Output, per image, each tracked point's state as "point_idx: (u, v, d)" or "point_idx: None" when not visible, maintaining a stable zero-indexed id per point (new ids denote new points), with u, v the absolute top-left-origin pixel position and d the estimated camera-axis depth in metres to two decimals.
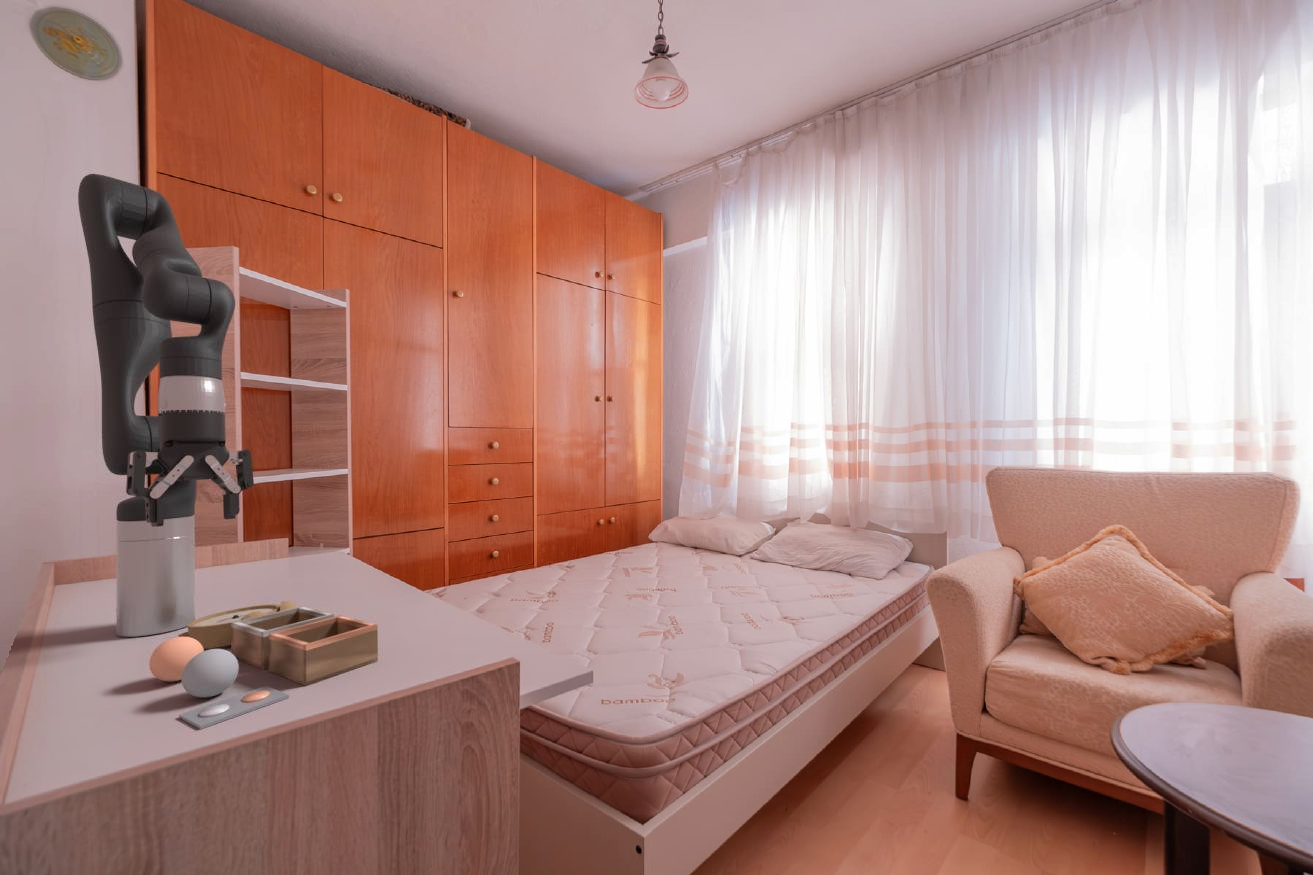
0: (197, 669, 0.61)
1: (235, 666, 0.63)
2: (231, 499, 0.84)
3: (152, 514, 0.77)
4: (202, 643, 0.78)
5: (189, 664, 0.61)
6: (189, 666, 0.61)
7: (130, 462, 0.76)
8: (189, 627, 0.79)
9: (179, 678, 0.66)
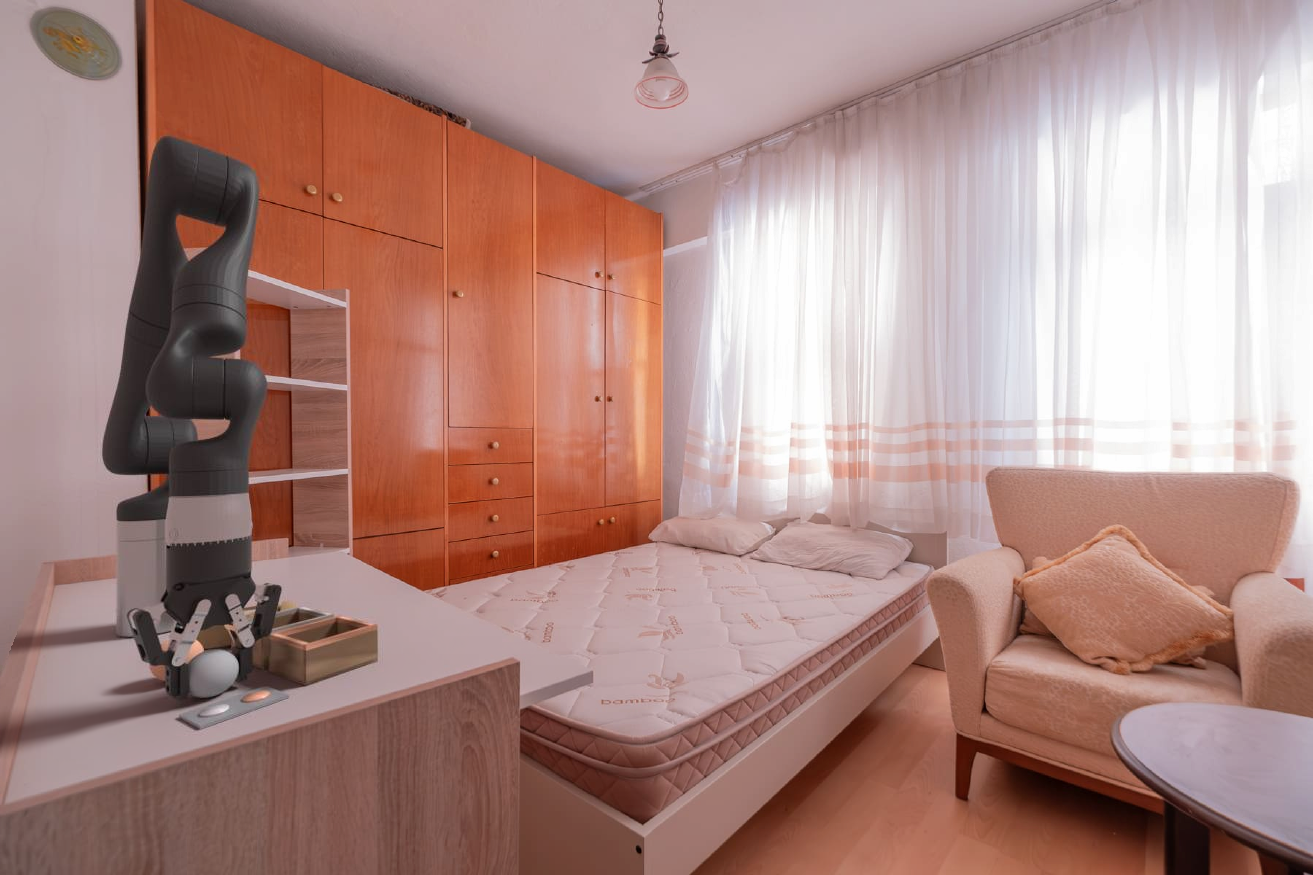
0: (197, 669, 0.61)
1: (235, 666, 0.63)
2: (242, 656, 0.64)
3: (174, 686, 0.59)
4: (202, 643, 0.78)
5: (189, 664, 0.61)
6: (189, 666, 0.61)
7: (133, 627, 0.57)
8: None
9: None
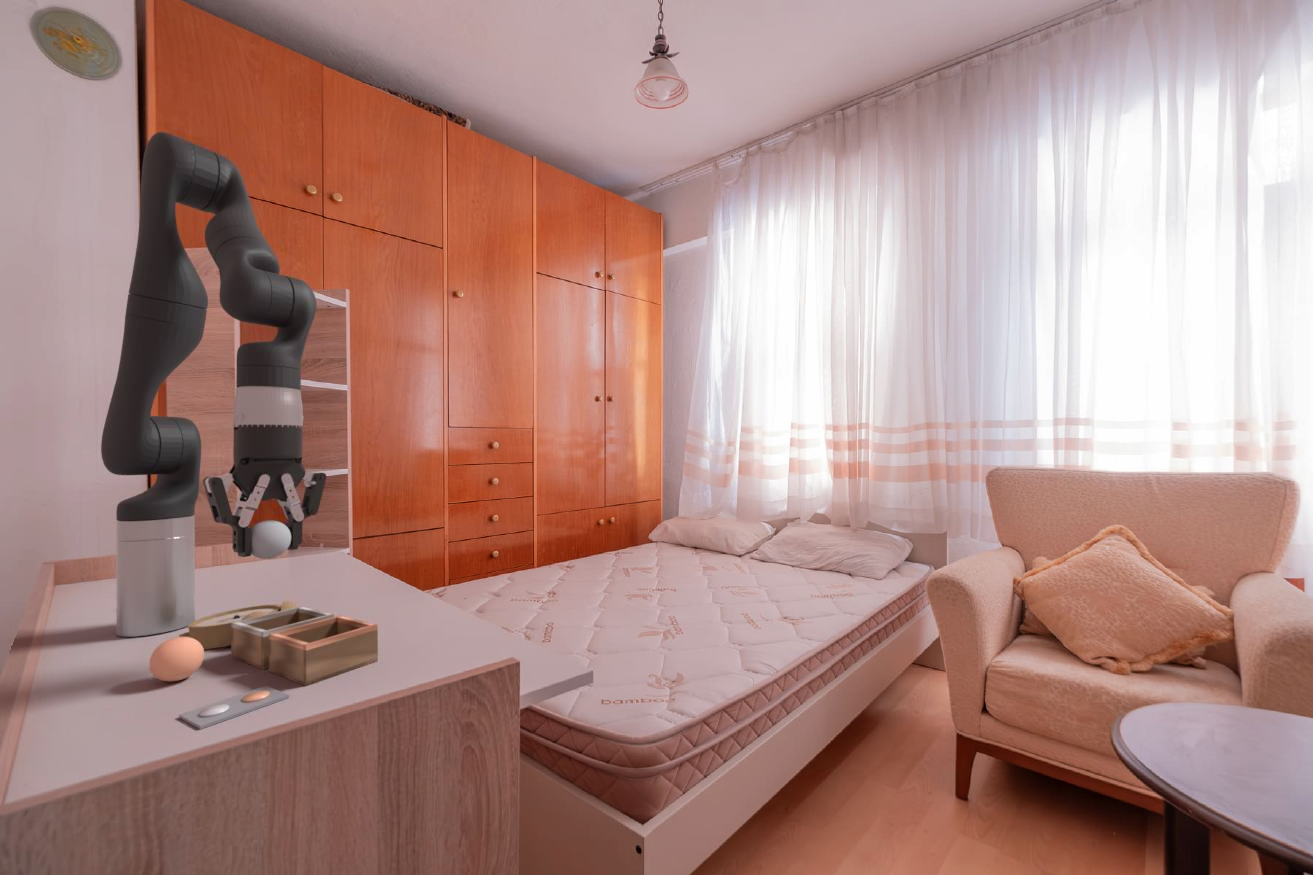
0: (258, 532, 0.72)
1: (289, 535, 0.75)
2: (294, 528, 0.76)
3: (240, 544, 0.71)
4: (203, 643, 0.78)
5: (252, 529, 0.73)
6: (252, 530, 0.72)
7: (208, 490, 0.69)
8: (190, 627, 0.79)
9: (179, 678, 0.66)
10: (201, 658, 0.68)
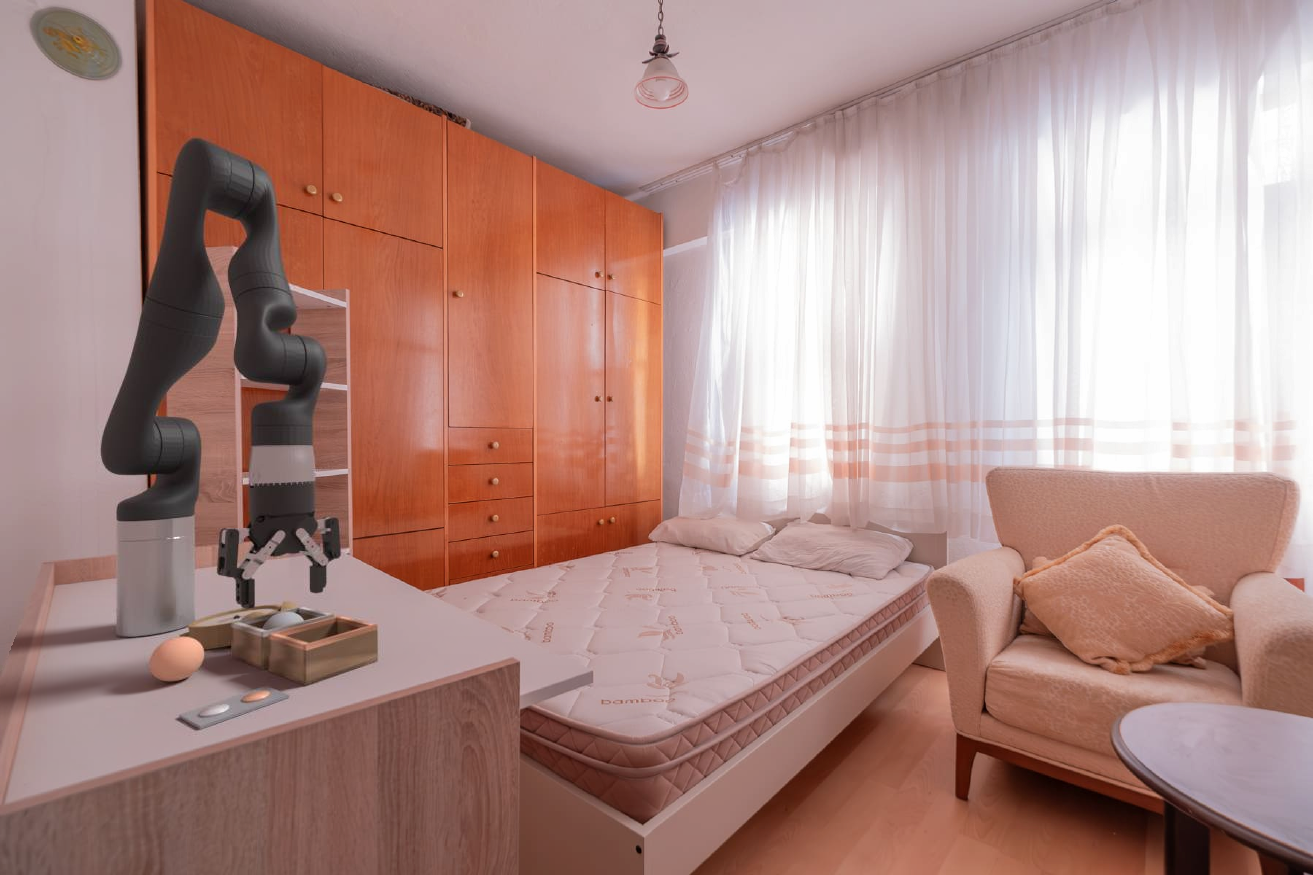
0: (275, 626, 0.74)
1: None
2: (319, 572, 0.79)
3: (243, 596, 0.72)
4: (203, 643, 0.78)
5: (268, 623, 0.74)
6: (268, 624, 0.74)
7: (223, 541, 0.70)
8: (190, 627, 0.79)
9: (179, 678, 0.66)
10: (201, 658, 0.68)
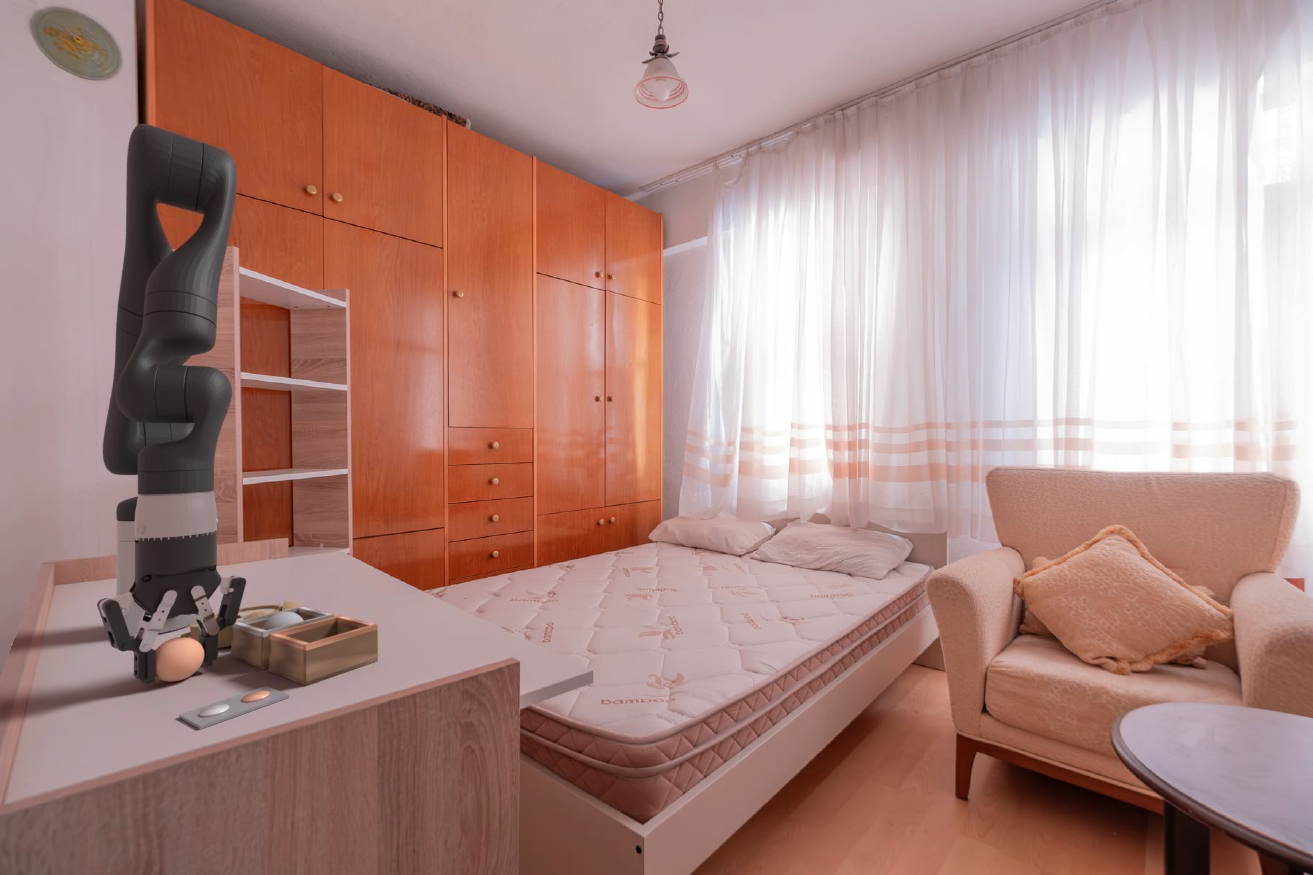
0: (274, 627, 0.74)
1: None
2: (208, 643, 0.69)
3: (142, 670, 0.64)
4: None
5: (267, 623, 0.74)
6: (267, 624, 0.74)
7: (103, 615, 0.62)
8: (191, 627, 0.79)
9: (179, 678, 0.66)
10: (201, 658, 0.68)
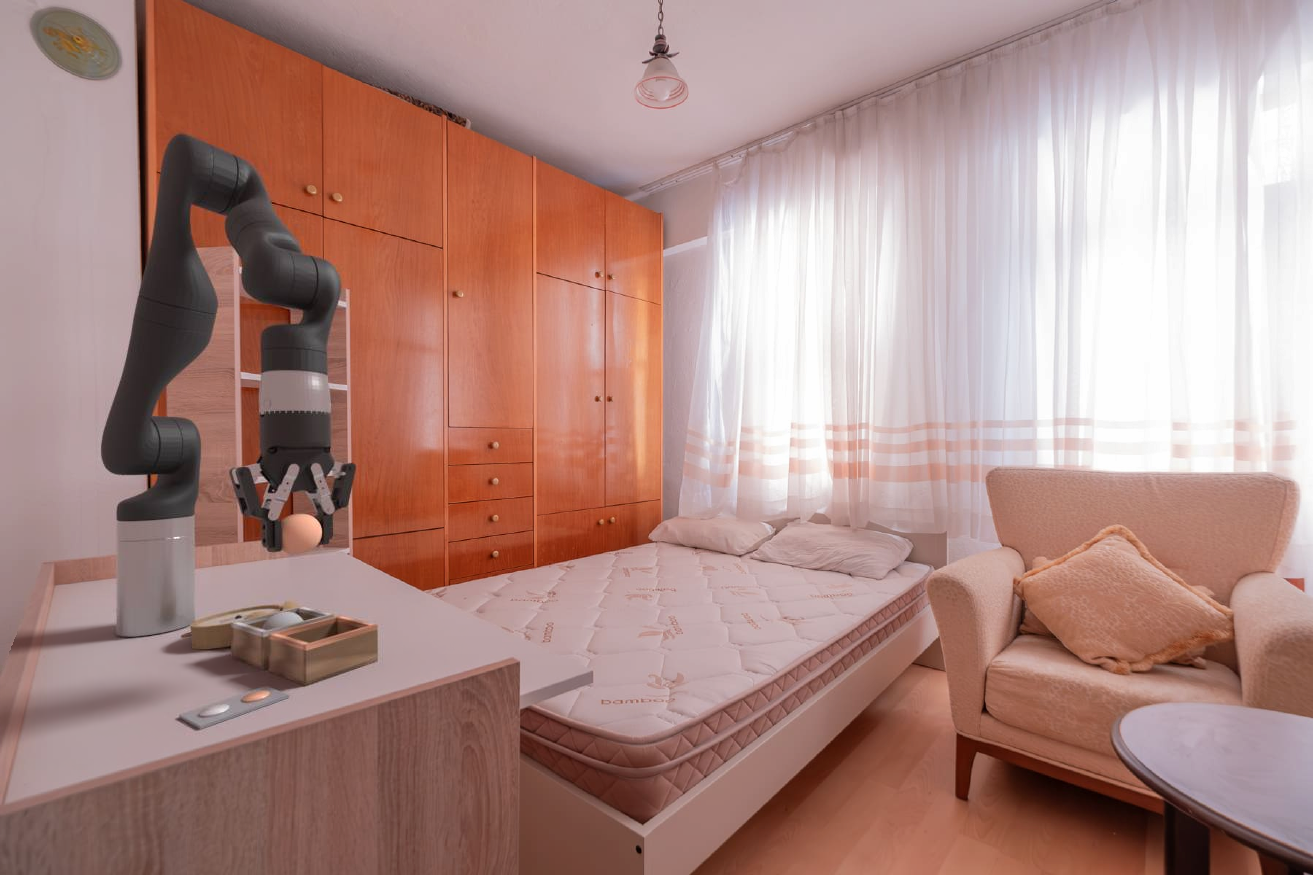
0: (274, 627, 0.74)
1: None
2: (325, 521, 0.72)
3: (270, 538, 0.67)
4: (205, 643, 0.78)
5: (267, 623, 0.74)
6: (267, 625, 0.74)
7: (236, 481, 0.65)
8: (192, 627, 0.79)
9: (302, 550, 0.69)
10: (320, 534, 0.70)
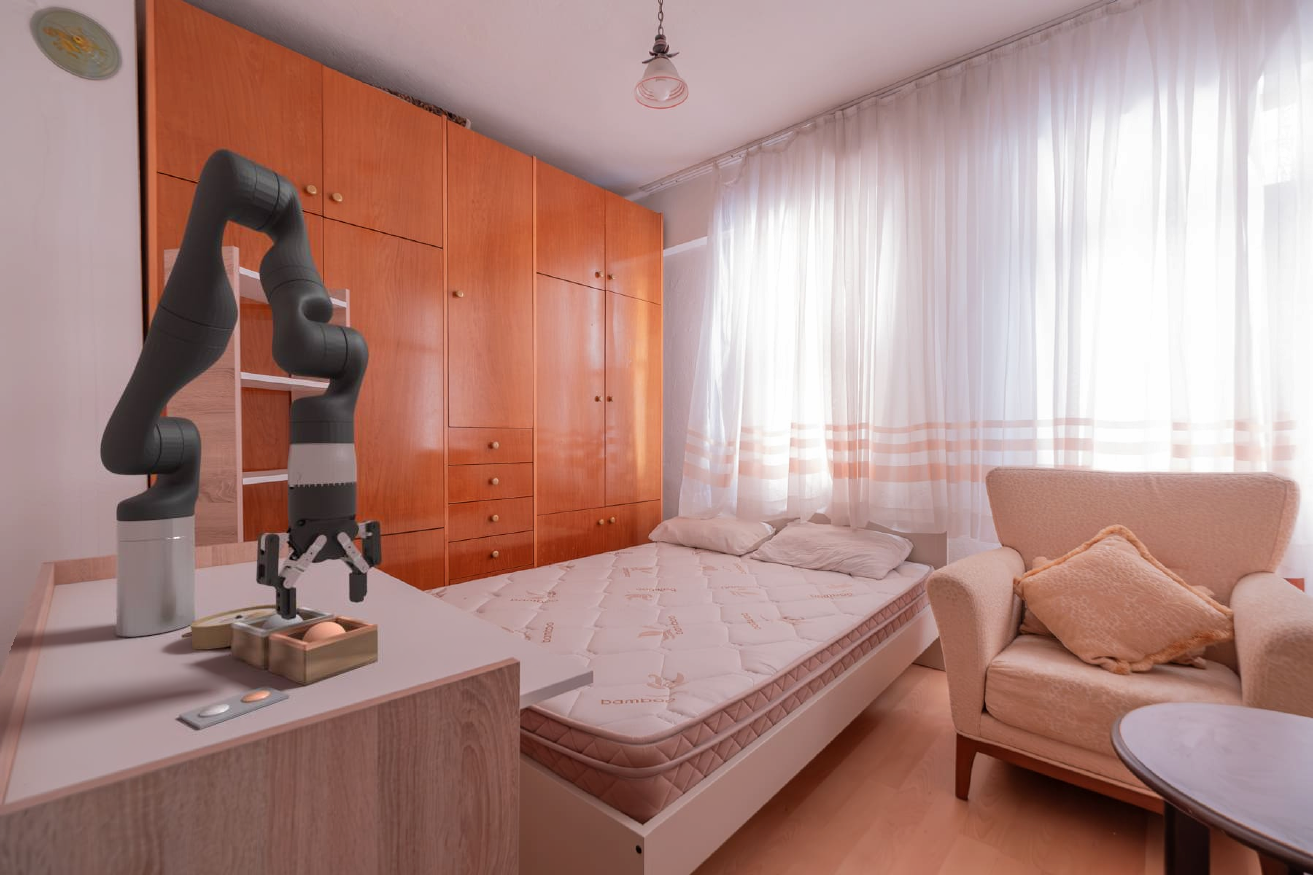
0: (273, 627, 0.74)
1: None
2: (360, 580, 0.74)
3: (284, 606, 0.66)
4: (205, 643, 0.78)
5: (266, 624, 0.74)
6: (267, 625, 0.74)
7: (262, 547, 0.65)
8: (192, 627, 0.79)
9: None
10: None
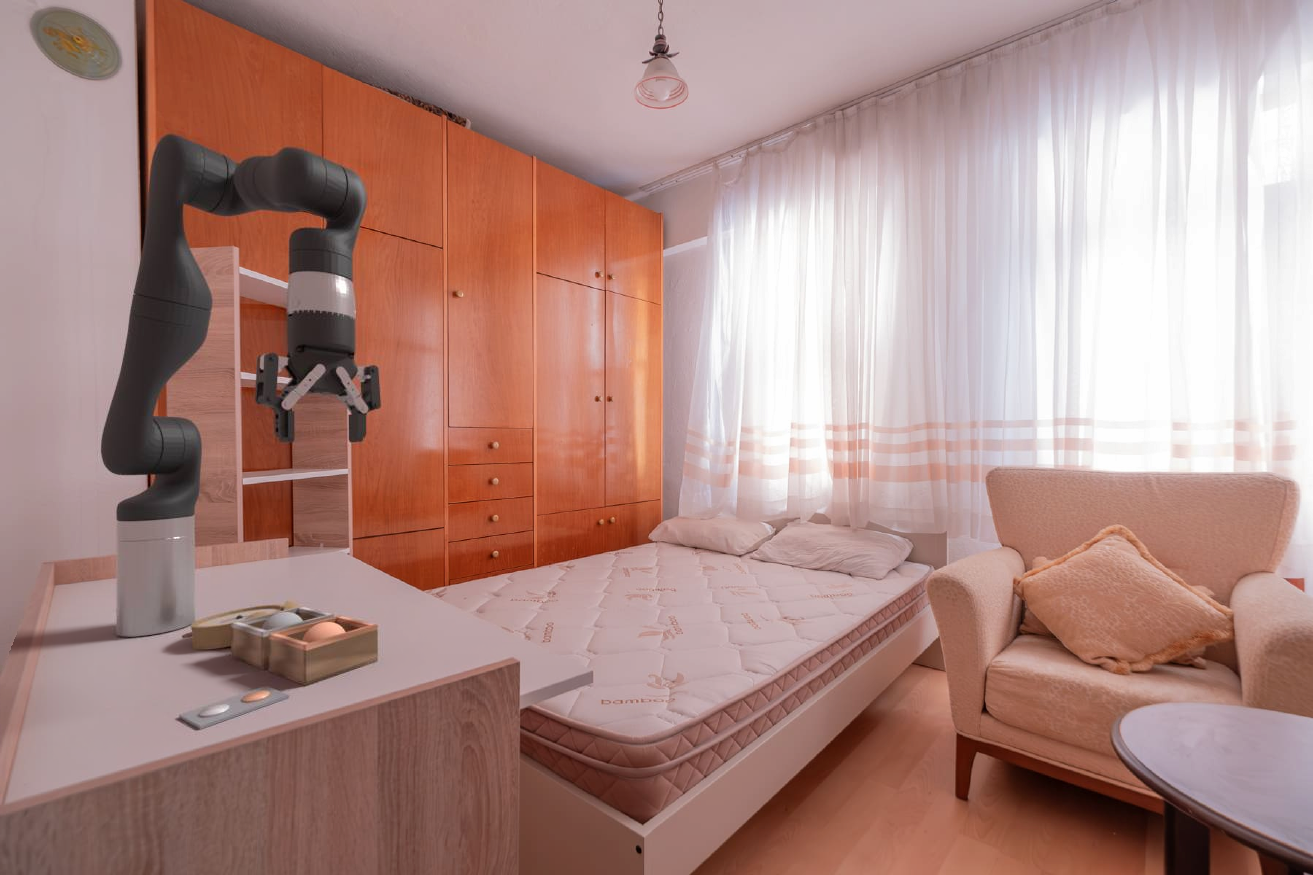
0: (273, 628, 0.74)
1: None
2: (359, 419, 0.75)
3: (283, 427, 0.67)
4: (206, 643, 0.78)
5: (266, 624, 0.74)
6: (266, 625, 0.74)
7: (261, 366, 0.66)
8: (193, 627, 0.79)
9: None
10: None
